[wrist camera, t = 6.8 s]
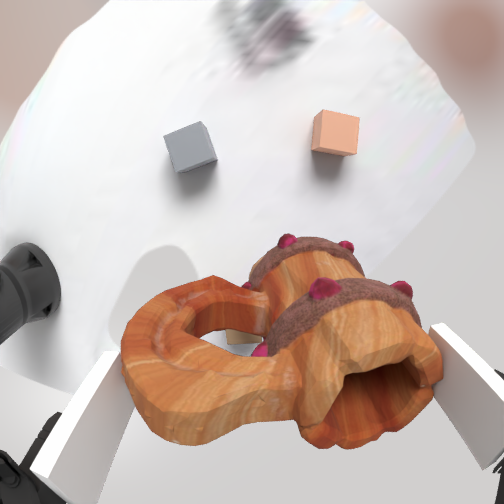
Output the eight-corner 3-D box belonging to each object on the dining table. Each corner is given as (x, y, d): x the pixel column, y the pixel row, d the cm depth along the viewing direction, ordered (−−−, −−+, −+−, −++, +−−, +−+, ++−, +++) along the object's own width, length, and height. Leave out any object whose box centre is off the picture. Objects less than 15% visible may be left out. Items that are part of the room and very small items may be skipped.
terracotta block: (310, 150, 37) (319, 146, 32) (314, 117, 35) (322, 109, 31) (344, 156, 37) (356, 154, 32) (347, 123, 36) (359, 117, 31)
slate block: (184, 172, 37) (175, 172, 33) (173, 140, 36) (163, 136, 31) (217, 159, 37) (213, 157, 32) (206, 127, 36) (200, 121, 31)
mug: (362, 234, 21) (506, 318, 7) (341, 324, 23) (424, 455, 9) (176, 214, 20) (59, 297, 6) (173, 312, 22) (114, 467, 8)
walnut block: (229, 327, 44) (227, 344, 39) (226, 299, 42) (223, 314, 38) (260, 325, 44) (261, 342, 39) (258, 297, 42) (259, 312, 38)
